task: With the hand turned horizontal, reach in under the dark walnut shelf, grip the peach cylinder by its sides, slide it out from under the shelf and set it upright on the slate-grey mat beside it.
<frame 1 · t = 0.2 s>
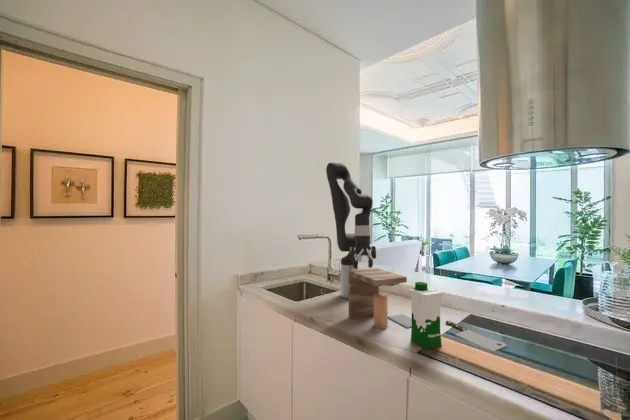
hand: (363, 268, 143), 17 cm above the counter, tool pointing down, fingers open, 8 cm apart
slate mat: (404, 321, 120), on the counter
walnut shelf: (376, 323, 118), on the counter
milk carton: (426, 344, 100), on the counter
peach cylinder: (380, 325, 116), on the counter
kitchen cleaver: (468, 337, 107), on the counter
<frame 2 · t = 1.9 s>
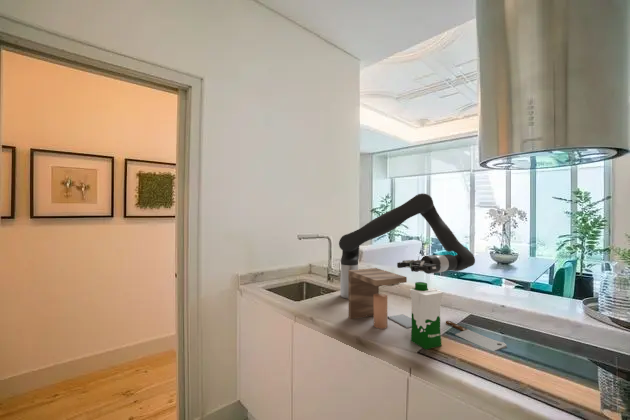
hand: (404, 267, 120), 22 cm above the counter, tool horizontal, fingers open, 8 cm apart
nothing on the counter moved.
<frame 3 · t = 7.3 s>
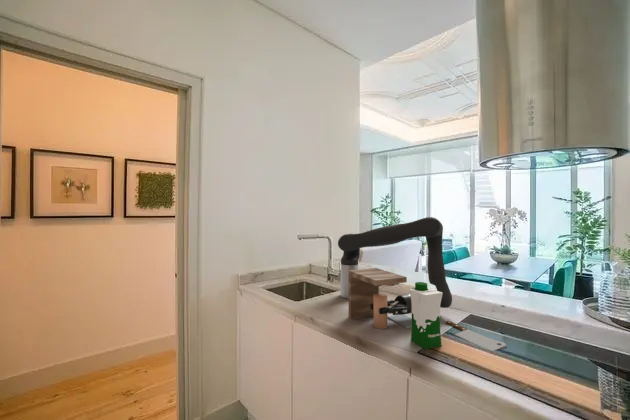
hand: (375, 308, 115), 7 cm above the counter, tool horizontal, fingers closed on peach cylinder, 5 cm apart
peach cylinder: (380, 325, 115), on the counter, touching gripper
everything else where it was.
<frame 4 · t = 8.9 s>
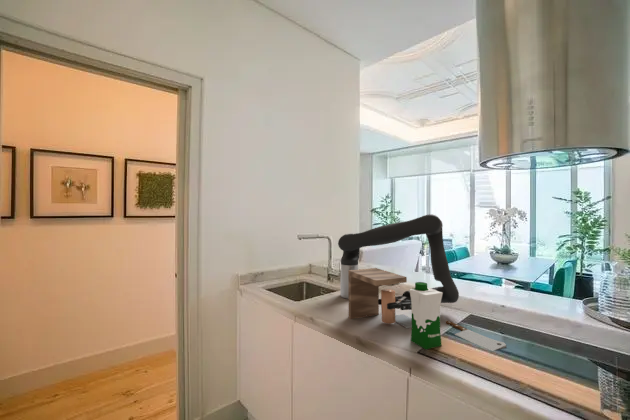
hand: (383, 304, 116), 8 cm above the counter, tool horizontal, fingers closed on peach cylinder, 5 cm apart
peach cylinder: (388, 321, 117), point 1 cm above the counter, touching gripper
everything else where it was.
when the fingers open (8 cm above the counter, at t = 10.8 s): peach cylinder stays where it is, resting on slate mat.
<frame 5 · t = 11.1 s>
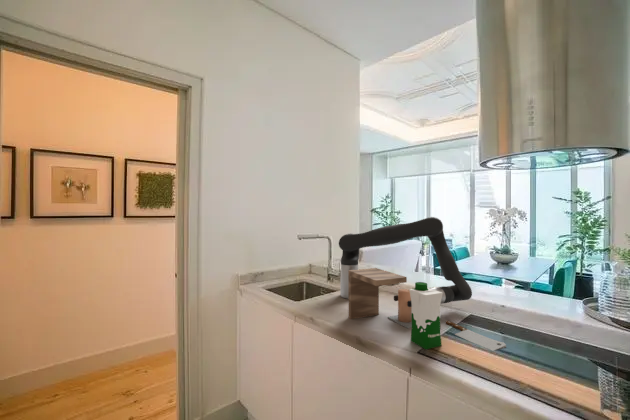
hand: (401, 301, 120), 8 cm above the counter, tool horizontal, fingers open, 8 cm apart
peach cylinder: (404, 319, 120), point 1 cm above the counter, touching slate mat
everything else where it was.
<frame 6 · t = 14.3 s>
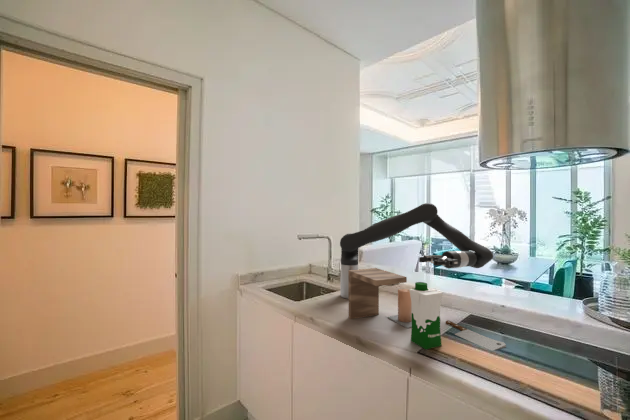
hand: (426, 261, 125), 24 cm above the counter, tool horizontal, fingers open, 8 cm apart
nothing on the counter moved.
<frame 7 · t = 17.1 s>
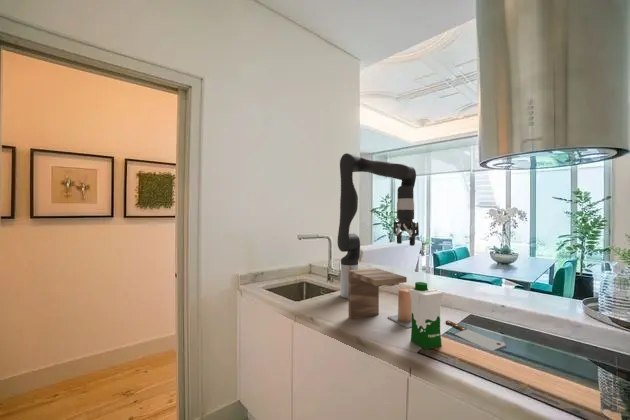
hand: (405, 244, 133), 30 cm above the counter, tool pointing down, fingers open, 8 cm apart
nothing on the counter moved.
at the end: peach cylinder inside the target area (1.2 cm from its centre), point 0.6 cm above the counter; peach cylinder tilted 1°; peach cylinder touching slate mat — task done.
